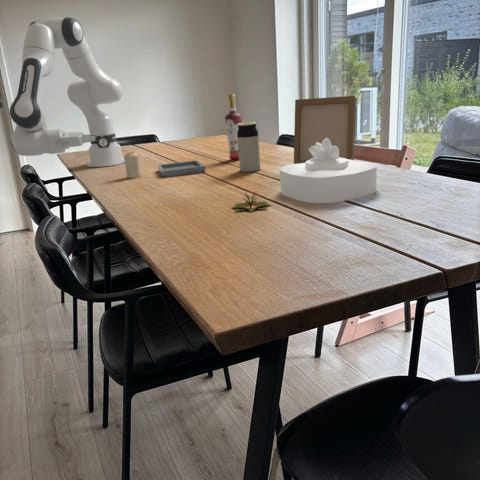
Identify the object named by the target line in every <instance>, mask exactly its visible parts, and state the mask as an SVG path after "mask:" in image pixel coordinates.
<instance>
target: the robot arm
mask: <svg viewBox="0 0 480 480" xmlns="http://www.w3.org/2000/svg"><path fill="white" fill-rule="evenodd" d="M56 49H61V51H62V53H63V55H64V57H65V59H66V61H67V65H68V66H69V68H70V71H71V72H72V74H73V75H75V76H77V77H78V78H81V80H78V81H75V82H72V83H70V84H69V85H68V88H67V92H66V93H67V97H68V99H69V101H70V102H71V103H72V104H73V105H75V106H77V108H78V109H79V110H81V112H82V114H83V116H84V117H85V119H86V122H87V125H88V131H89V134H87V133H86V134H84V133H85V132H82V131H81V132H80V131H70V132H69V131H64V130H61V128H58V129H57V128H56V129H47V119H46V116H45V115H44V113H43V112H42V110H41V108H40V106H39V103H38V96H39V89H40V88H39V87H40V83H41V80H42V78H47V77H48V76H49V75H51V74H52V71H53V67H54V65H55V54H56ZM21 56H22V57H21V58H22V60H21V63H22V64H21V72H20V73H21V74H20V77H19V84H18V85H19V86H18V91H17V95H16V96H15V98H14V100H13V102H12V103H11V104H10V108H9V116H10V118H11V120H12V121H13V123H14V124H15V128H14V130H13V132H12V134H11V135H10V137H9V138H10V144H11V146H12V149H13V150H14V152H15V153H16V154H17V155H19V156H22V157H34V156H41V155H44V154H49V155H52V154H53V155H55V154H62V153H63V154H64V153H65V151H66V150H68V149H69V148H73V147H74V148H75V147H82V146H83V144H86V143H90V146H89V148H88V155H89V161H90V162H89V163H87V164H86V167H89V168H90V167H91V168H101V167H102V168H103V167H111V166H116V165H121V164H125V160H124V157H123V153H122V148H121V147H122V146H121V145H120V144H119V143H117V136H116V133H115V130H114V124H113V120H112V119H113V118H112V117H111V115H110V114H108V113H107V112H104V111H102V109H101V108H100V106H99V105H105V104H107V105H109V104H112V103H115V102H118V101H120V100H121V98H122V96H123V88H122V85H121V82H119V81H118V80H117V79H115V78H113V77H111V76H110V75H108V74H107V73H106V72H104V70H102V69H101V67H100V66H99V65H98V63H97V61H96V59H95V57H94V55H93V53H92V51H91V48H90V46H89V44H88V41H87V39H86V38H85V35H84V30H83V27H82V25H81V23H80V22H79V21H78V20H77V19H76V18H73V17H70V16H69V17H67V16H66V17H51V18H45V19H37V20H34V21H32V22H30V24H29V25H28V28H27V31H26V34H25V37H24V42H23V48H22V55H21ZM82 79H83V80H82Z"/></svg>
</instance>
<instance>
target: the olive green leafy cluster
mask: <svg viewBox="0 0 480 480" xmlns="http://www.w3.org/2000/svg"><path fill="white" fill-rule="evenodd" d="M258 194H259V192H257V193H256V192H255V193H253V194H252V196H251V197H249V196H250V195H249V194H248V193H247V192H245V193H244V195H245V196H244V197H242V198H241V199H242V200H244V201H245V202H240V203H235V204H236V205H234V206H233V207H232V209H235V211H234V212H235V213H236V212H240V211H241V212H242V211H243V209H245V210H247V211H249V212H250V213H252V212H254V211H255V210H257V209H258V207H259V209H260V210H262V211H263V210H268V208H267V207H266V206H272V205H271V204H269V203H267V201H257V199H258V197H256V195H258Z"/></svg>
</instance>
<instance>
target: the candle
mask: <svg viewBox="0 0 480 480" xmlns="http://www.w3.org/2000/svg"><path fill="white" fill-rule="evenodd" d="M123 158H124V160H125V163H124V164H125V171H126V178H127V179H137V178H141V177H142V172H141V167H140V160H139V159H140V158H139V155H138V154H137V153H136V152H135V151H129V152H126V153H125V155H124V156H123Z"/></svg>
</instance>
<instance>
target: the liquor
mask: <svg viewBox="0 0 480 480" xmlns="http://www.w3.org/2000/svg"><path fill="white" fill-rule="evenodd" d="M228 100H229V113H228V114H226V115H225V116H224V118H225V127H226V134H227V142H228V151H229V155H228V156H229V159H230V160H232V161H239V151H238V138H237V132H238V125H237V124H238V123H243V115H242V114H240V113H238V112H237V108H236V95H235V93H231V94H228Z"/></svg>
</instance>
